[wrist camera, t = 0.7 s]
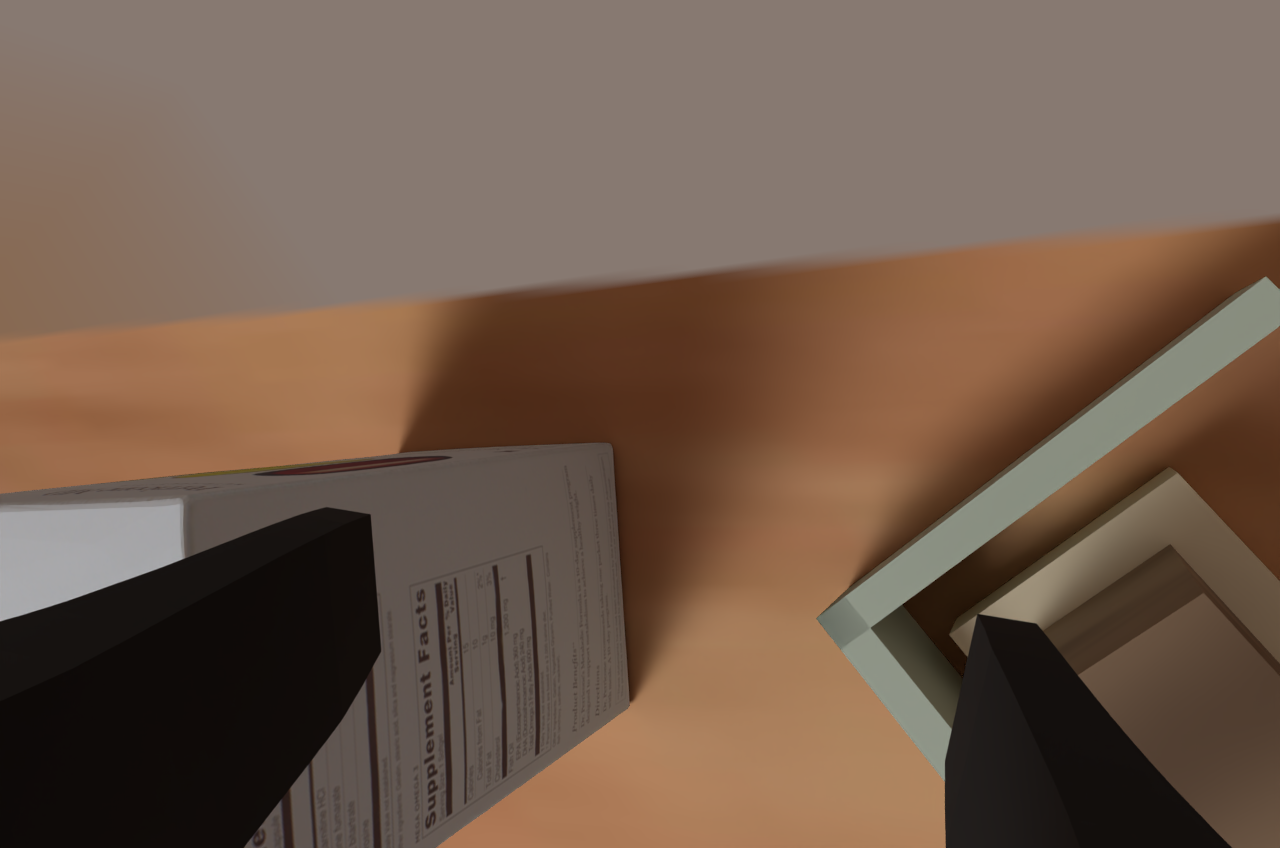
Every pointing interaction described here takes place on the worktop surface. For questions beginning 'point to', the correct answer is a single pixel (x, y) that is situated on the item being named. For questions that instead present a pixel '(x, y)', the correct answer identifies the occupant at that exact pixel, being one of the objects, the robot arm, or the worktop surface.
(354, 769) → the supplement box
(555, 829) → the worktop surface
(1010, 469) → the crate
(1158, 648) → the block
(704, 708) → the worktop surface
